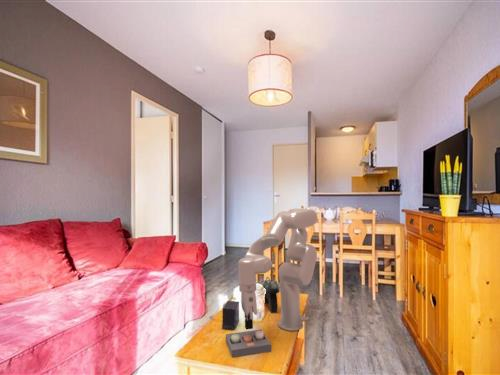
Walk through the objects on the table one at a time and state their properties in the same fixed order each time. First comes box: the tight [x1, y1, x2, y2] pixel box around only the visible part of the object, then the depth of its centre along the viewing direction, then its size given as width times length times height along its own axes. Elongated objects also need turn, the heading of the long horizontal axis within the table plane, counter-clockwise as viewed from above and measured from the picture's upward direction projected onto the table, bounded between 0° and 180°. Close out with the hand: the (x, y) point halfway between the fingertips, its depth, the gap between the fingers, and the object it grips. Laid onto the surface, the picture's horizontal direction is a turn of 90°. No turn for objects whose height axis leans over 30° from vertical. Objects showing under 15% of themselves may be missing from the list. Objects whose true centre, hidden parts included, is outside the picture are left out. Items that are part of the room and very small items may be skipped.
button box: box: [225, 329, 272, 358], centre depth 123 cm, size 17×14×3 cm
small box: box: [221, 300, 240, 331], centre depth 144 cm, size 11×6×10 cm, turn 168°
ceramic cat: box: [262, 273, 280, 314], centre depth 167 cm, size 20×6×20 cm, turn 13°
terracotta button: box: [244, 335, 252, 342], centre depth 123 cm, size 4×4×2 cm
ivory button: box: [256, 330, 265, 340], centre depth 125 cm, size 4×4×2 cm
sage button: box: [231, 334, 240, 344], centre depth 122 cm, size 4×4×2 cm
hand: (249, 328), depth 124 cm, fingers closed
